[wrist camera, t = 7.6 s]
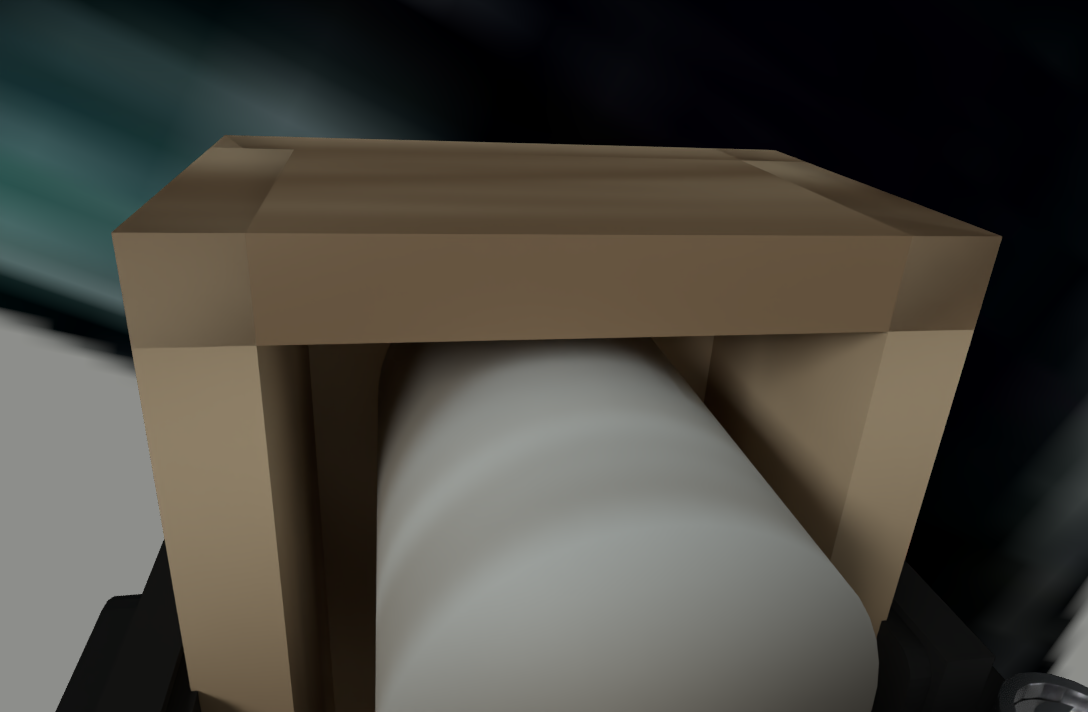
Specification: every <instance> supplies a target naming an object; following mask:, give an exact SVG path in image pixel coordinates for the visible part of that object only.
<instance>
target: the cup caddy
mask: <svg viewBox="0 0 1088 712" xmlns="http://www.w3.org/2000/svg"><path fill="white" fill-rule="evenodd" d="M112 239H113V244H114V250H115V256H116V262H117V267H118V273H119V279H120V285H121V290H122V296H123V302H124V308H125V314H126V319H127V325H128V331H129V337H130V342H131V348H132V354H133V360H134V365H135V371H136V377H137V383H138V388H139V394H140V400H141V406H142V411H143V417H144V423H145V428H146V435H147V440H148V446H149V452H150V458H151V463H152V469H153V475H154V481H155V487H156V492H157V498H158V504H159V509H160V515H161V521H162V527H163V533H164V538H165V544H166V550H167V556H168V561H169V567H170V573H171V579H172V585H173V590H174V596H175V602H176V608H177V613H178V619H179V625H180V631H181V636H182V642H183V648H184V654H185V659H186V665H187V671H188V677H189V683H190V688H191V691H198V695H199V701H200V707H201V712H871V710H872V707H873V702H874V698H875V694H876V689H877V683H878V668H879V659H878V649H877V640H876V638H877V634H878V631H879V628H880V624H881V621H883V620H887V617H888V614H889V610H890V607H891V604H892V600H893V597H894V594H895V590H896V587H897V584H898V580H899V577H900V574H901V570H902V567H903V564H904V560H905V557H906V554H907V551H908V547H909V544H910V541H911V537H912V534H913V531H914V527H915V524H916V521H917V517H918V514H919V511H920V507H921V504H922V501H923V497H924V494H925V491H926V488H927V484H928V481H929V478H930V474H931V471H932V468H933V464H934V461H935V458H936V454H937V451H938V448H939V444H940V441H941V438H942V434H943V431H944V428H945V425H946V421H947V418H948V415H949V411H950V408H951V405H952V401H953V398H954V395H955V391H956V388H957V385H958V381H959V378H960V375H961V371H962V368H963V365H964V362H965V358H966V355H967V352H968V348H969V345H970V342H971V338H972V335H973V332H974V328H975V325H976V322H977V318H978V315H979V312H980V308H981V305H982V302H983V299H984V295H985V292H986V289H987V285H988V282H989V279H990V275H991V272H992V269H993V265H994V262H995V259H996V255H997V252H998V249H999V245H1000V242H1001V239H1002V236H1000V235H997V234H994V233H992V232H989V231H986V230H984V229H981V228H979V227H976V226H973V225H971V224H968V223H965V222H963V221H960V220H957V219H955V218H952V217H950V216H947V215H944V214H942V213H939V212H936V211H934V210H931V209H928V208H926V207H923V206H920V205H918V204H915V203H913V202H910V201H907V200H905V199H902V198H899V197H897V196H894V195H891V194H889V193H886V192H884V191H881V190H878V189H876V188H873V187H870V186H868V185H865V184H862V183H860V182H857V181H854V180H852V179H849V178H847V177H844V176H841V175H839V174H836V173H833V172H831V171H828V170H825V169H823V168H820V167H818V166H815V165H812V164H810V163H807V162H804V161H802V160H799V159H796V158H794V157H791V156H788V155H786V154H783V153H781V152H778V151H775V150H748V149H711V148H675V147H638V146H601V145H565V144H528V143H491V142H455V141H418V140H381V139H345V138H308V137H271V136H235V135H225V136H224V137H222V138H221V139H220V140H219V141H218V142H217V143H215V144H214V145H213V146H212V147H211V148H210V149H208V150H207V151H206V152H205V153H204V154H203V155H201V156H200V157H199V158H198V159H197V160H196V161H194V162H193V163H192V164H191V165H190V166H189V167H187V168H186V169H185V170H184V171H183V172H182V173H180V174H179V175H178V176H177V177H176V178H175V179H173V180H172V181H171V182H170V183H169V184H168V185H166V186H165V187H164V188H163V189H162V190H161V191H159V192H158V193H157V194H156V195H155V196H154V197H152V198H151V199H150V200H149V201H148V202H147V203H145V204H144V205H143V206H142V207H141V208H140V209H138V210H137V211H136V212H135V213H134V214H133V215H131V216H130V217H129V218H128V219H127V220H126V221H124V222H123V223H122V224H121V225H120V226H119V227H117V228H116V229H115V230H114V231H113V232H112Z"/></svg>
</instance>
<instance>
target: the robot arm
mask: <svg viewBox="0 0 1088 712" xmlns="http://www.w3.org/2000/svg"><path fill="white" fill-rule="evenodd" d="M876 640H877V649H878V659H879V668H878V683H877V689H876V694H875V698H874V702H873V707H872V710H871V712H1088V688H1087V687H1085V686H1083V685H1081V684H1079V683H1077V682H1075V681H1072V680H1069V679H1065V678H1062V677H1059V676H1055V675H1052V674H1044V673H1035V672H1028V673H1022V674H1016V675H1013V676H1012V677H1010V678H1009V679H1007V680H1005V679H1004V678H1003V677H1002V676H1001V675H1000V674H999V673H998V672H997V671H996V670H995V668H994V667H993V666H992V665H993V662H994V659H995V656H994V655H993V654H992V652H991V651H990V650H989V649H988V648H987V647H986V646H985V645H984V644H983V643H982V642H981V641H980V640H979V639H978V638H977V636H976V635H975V634H974V633H973V632H972V631H971V630H970V629H969V628H968V627H967V626H966V625H965V624H964V623H963V622H962V620H961V619H960V618H959V617H958V616H957V615H956V614H955V613H954V612H953V611H952V610H951V609H950V608H949V607H948V606H947V605H946V603H945V602H944V601H943V600H942V599H941V598H940V597H939V596H938V595H937V594H936V593H935V592H934V591H933V590H932V589H931V587H930V586H929V585H928V584H927V583H926V582H925V581H924V580H923V579H922V578H921V577H920V576H919V575H918V574H917V573H916V571H915V570H914V569H913V568H912V567H911V566H910V565H909V564H908V563H907V562H906V561H905V560H904V564H903V567H902V570H901V574H900V577H899V580H898V584H897V587H896V590H895V594H894V597H893V600H892V604H891V607H890V610H889V614H888V617H887V620H883V621H881V624H880V628H879V631H878V634H877V638H876ZM56 712H201V707H200V701H199V695H198V691H191V688H190V683H189V677H188V671H187V665H186V659H185V654H184V648H183V642H182V636H181V631H180V625H179V619H178V613H177V608H176V602H175V596H174V590H173V585H172V579H171V573H170V567H169V561H168V556H167V550H166V544H165V538H164V541H163V544H162V546H161V548H160V551H159V553H158V556H157V558H156V561H155V563H154V566H153V568H152V571H151V573H150V576H149V578H148V581H147V583H146V586H145V588H144V591H143V593H142V594H138V595H126V596H114V597H112V598H111V599H110V600H108V601H107V603H106V605H105V606H104V608H103V610H102V611H101V613H100V616H99V618H98V620H97V622H96V624H95V627H94V629H93V631H92V633H91V635H90V638H89V640H88V642H87V645H86V646H85V648H84V651H83V653H82V655H81V657H80V659H79V662H78V664H77V666H76V668H75V670H74V672H73V675H72V677H71V679H70V681H69V683H68V686H67V688H66V690H65V692H64V695H63V696H62V699H61V701H60V703H59V705H58V708H57V710H56Z"/></svg>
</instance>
